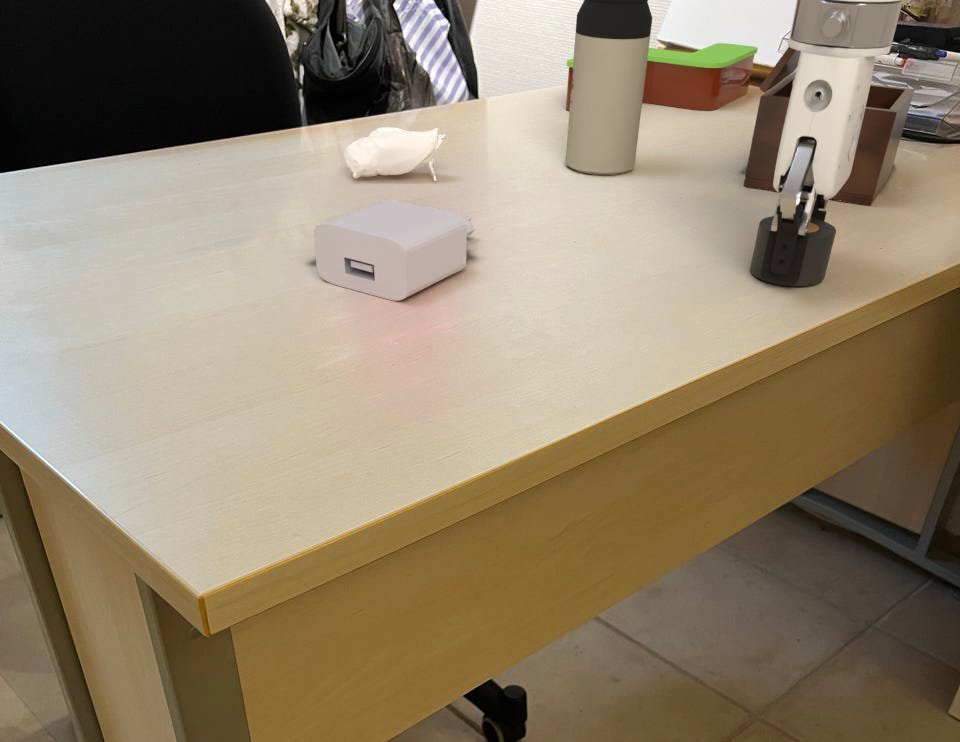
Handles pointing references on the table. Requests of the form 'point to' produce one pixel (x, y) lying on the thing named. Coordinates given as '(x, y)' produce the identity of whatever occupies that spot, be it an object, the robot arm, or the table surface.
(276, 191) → the table surface
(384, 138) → the bird figurine
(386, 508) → the table surface
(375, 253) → the charger
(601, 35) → the travel mug
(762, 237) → the tape
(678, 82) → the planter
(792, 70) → the lid
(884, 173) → the chest
